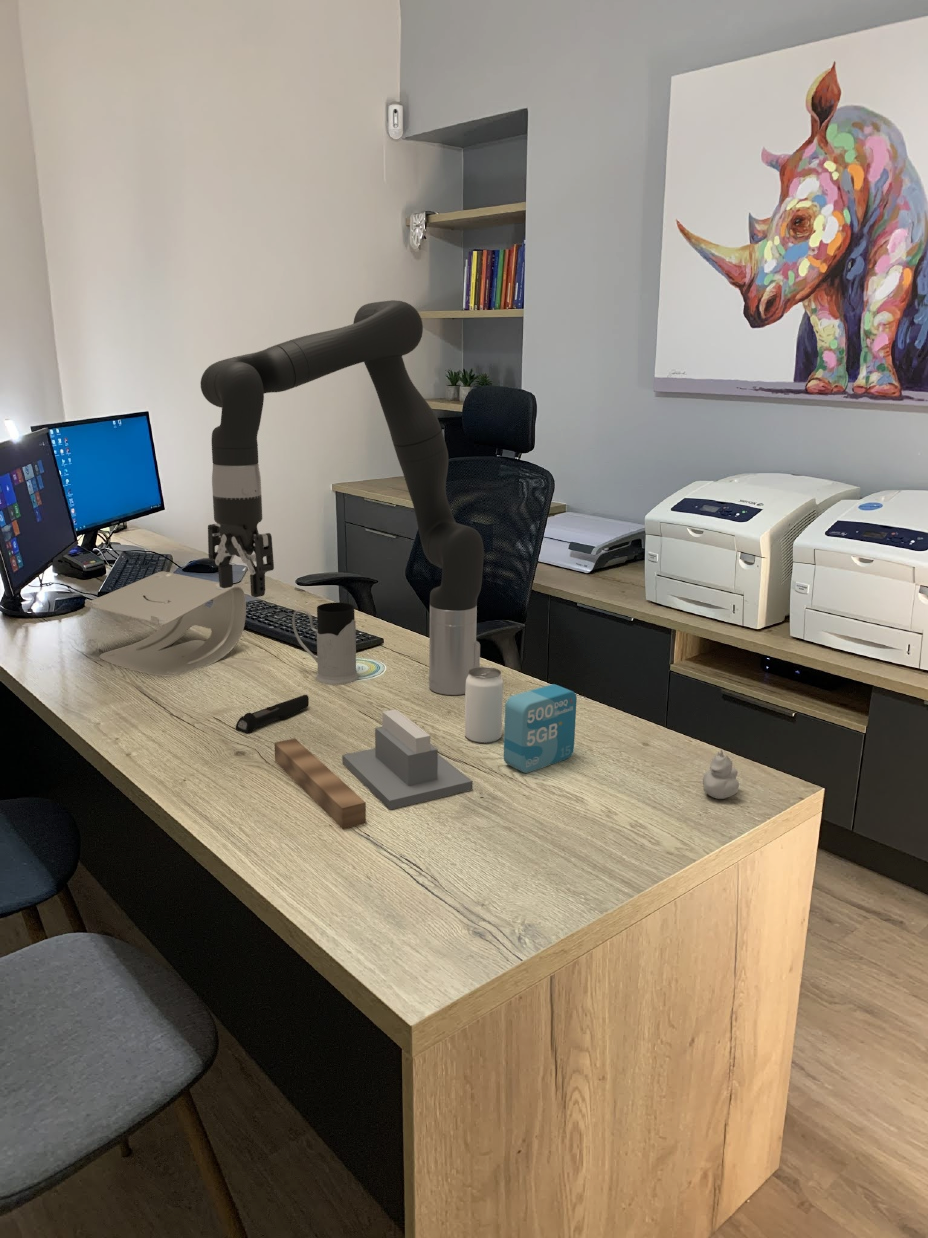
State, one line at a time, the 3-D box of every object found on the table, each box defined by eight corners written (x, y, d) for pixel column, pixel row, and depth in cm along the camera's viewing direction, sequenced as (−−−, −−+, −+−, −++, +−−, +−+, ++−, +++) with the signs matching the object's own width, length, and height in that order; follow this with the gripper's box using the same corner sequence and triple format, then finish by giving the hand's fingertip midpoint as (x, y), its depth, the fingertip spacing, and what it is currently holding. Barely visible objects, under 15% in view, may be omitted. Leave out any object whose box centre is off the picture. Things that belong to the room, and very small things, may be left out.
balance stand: (419, 747, 156) (419, 697, 154) (472, 790, 141) (473, 735, 139) (342, 763, 150) (341, 711, 147) (389, 810, 135) (389, 753, 132)
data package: (521, 776, 146) (523, 705, 143) (502, 766, 150) (504, 697, 147) (574, 757, 154) (577, 689, 150) (555, 748, 157) (558, 682, 154)
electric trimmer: (314, 712, 172) (314, 696, 171) (247, 736, 160) (247, 719, 159) (300, 707, 174) (300, 691, 173) (234, 730, 162) (233, 713, 162)
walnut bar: (275, 763, 150) (274, 742, 149) (295, 758, 152) (295, 738, 151) (342, 831, 129) (342, 808, 128) (365, 825, 131) (365, 802, 130)
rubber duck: (692, 794, 141) (697, 746, 139) (718, 783, 145) (722, 736, 143) (722, 808, 137) (727, 758, 135) (747, 795, 141) (753, 747, 139)
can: (506, 732, 163) (508, 668, 160) (495, 746, 157) (497, 680, 154) (471, 727, 165) (472, 664, 162) (459, 740, 159) (460, 675, 156)
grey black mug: (347, 687, 184) (345, 614, 180) (284, 678, 188) (281, 607, 184) (365, 673, 192) (364, 604, 188) (304, 665, 196) (302, 597, 192)
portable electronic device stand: (251, 651, 204) (248, 584, 200) (166, 681, 185) (161, 607, 181) (173, 632, 217) (168, 568, 213) (86, 658, 198) (79, 588, 194)
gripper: (284, 495, 144) (287, 595, 148) (230, 485, 153) (235, 580, 157) (244, 499, 138) (249, 604, 143) (190, 489, 147) (196, 588, 152)
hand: (241, 591), depth 150 cm, fingers open, 8 cm apart
